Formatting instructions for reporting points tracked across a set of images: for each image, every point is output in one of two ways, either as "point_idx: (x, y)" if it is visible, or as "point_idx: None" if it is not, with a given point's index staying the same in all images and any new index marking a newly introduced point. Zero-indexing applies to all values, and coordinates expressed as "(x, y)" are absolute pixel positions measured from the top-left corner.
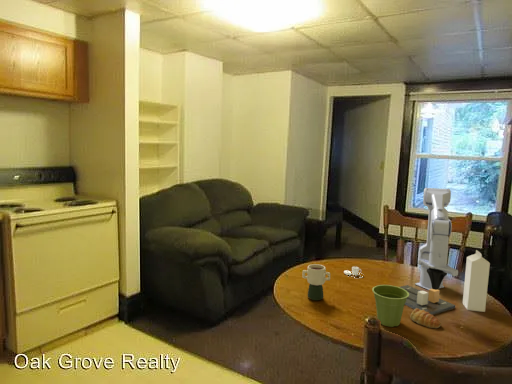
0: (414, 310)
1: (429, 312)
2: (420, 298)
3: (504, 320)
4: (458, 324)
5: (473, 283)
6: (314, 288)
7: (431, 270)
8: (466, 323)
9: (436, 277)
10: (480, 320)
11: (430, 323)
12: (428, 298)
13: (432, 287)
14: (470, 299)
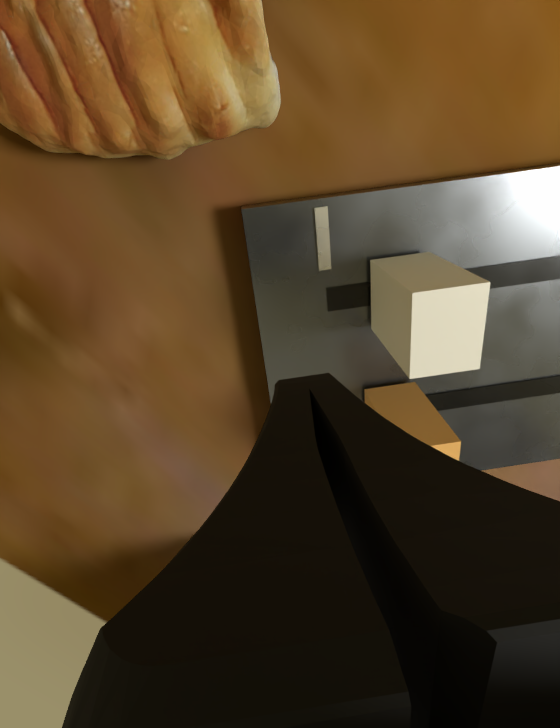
0: None
1: (247, 221)
2: (416, 271)
3: (80, 595)
4: (62, 327)
5: None
6: None
7: (549, 709)
8: (71, 391)
9: (228, 533)
10: (99, 497)
11: None
12: (419, 391)
13: (324, 377)
14: None
